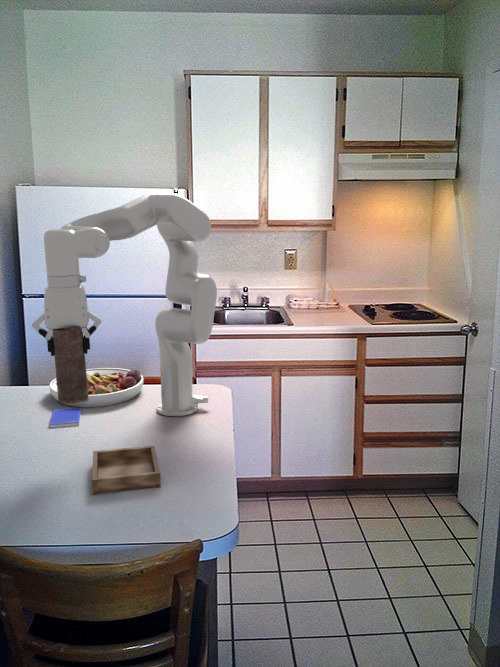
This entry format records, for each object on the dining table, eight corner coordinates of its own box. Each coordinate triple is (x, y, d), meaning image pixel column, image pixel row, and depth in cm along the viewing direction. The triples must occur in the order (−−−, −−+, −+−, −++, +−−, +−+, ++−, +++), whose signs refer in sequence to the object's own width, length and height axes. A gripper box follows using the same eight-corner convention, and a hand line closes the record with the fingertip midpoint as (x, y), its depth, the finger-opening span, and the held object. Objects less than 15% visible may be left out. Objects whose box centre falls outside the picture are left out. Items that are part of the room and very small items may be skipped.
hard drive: (79, 422, 179) (81, 407, 191) (49, 424, 178) (53, 409, 190) (79, 427, 180) (81, 412, 192) (49, 429, 178) (53, 414, 190)
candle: (80, 408, 152) (73, 328, 147) (52, 407, 153) (45, 327, 148) (93, 398, 159) (88, 321, 154) (67, 396, 160) (61, 320, 156)
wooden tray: (155, 458, 158) (154, 445, 157) (160, 487, 142) (160, 473, 142) (94, 464, 154) (93, 451, 154) (93, 494, 139) (92, 480, 138)
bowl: (49, 415, 189) (47, 390, 187) (51, 385, 217) (49, 363, 215) (149, 405, 197) (148, 381, 195) (138, 378, 225) (137, 357, 223)
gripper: (101, 278, 154) (105, 347, 158) (27, 281, 151) (34, 352, 155) (101, 282, 147) (106, 355, 151) (23, 286, 143) (30, 360, 148)
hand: (69, 353), depth 153 cm, fingers closed on candle, 7 cm apart
